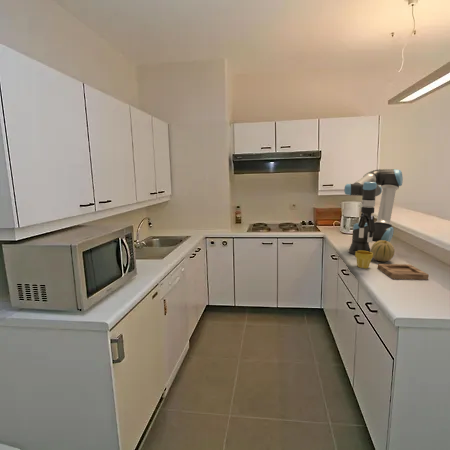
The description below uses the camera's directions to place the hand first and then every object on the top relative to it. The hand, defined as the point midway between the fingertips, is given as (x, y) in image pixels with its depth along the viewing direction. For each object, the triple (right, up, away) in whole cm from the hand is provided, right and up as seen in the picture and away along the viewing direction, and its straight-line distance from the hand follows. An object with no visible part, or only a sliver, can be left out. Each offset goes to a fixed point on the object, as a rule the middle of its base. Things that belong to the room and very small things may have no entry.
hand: (365, 240), depth 204 cm
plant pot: (0, -18, +3) cm, 18 cm away
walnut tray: (+18, -20, -10) cm, 28 cm away
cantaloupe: (+18, -16, +16) cm, 29 cm away
